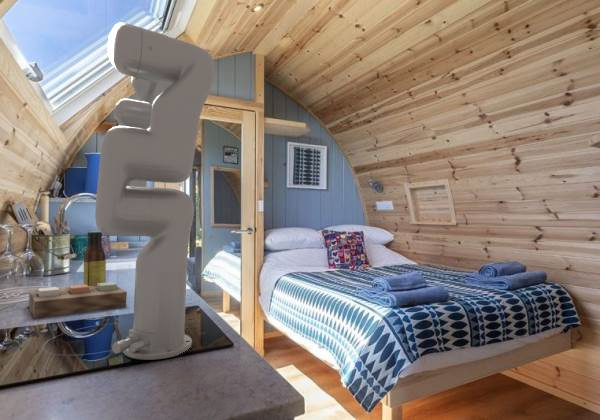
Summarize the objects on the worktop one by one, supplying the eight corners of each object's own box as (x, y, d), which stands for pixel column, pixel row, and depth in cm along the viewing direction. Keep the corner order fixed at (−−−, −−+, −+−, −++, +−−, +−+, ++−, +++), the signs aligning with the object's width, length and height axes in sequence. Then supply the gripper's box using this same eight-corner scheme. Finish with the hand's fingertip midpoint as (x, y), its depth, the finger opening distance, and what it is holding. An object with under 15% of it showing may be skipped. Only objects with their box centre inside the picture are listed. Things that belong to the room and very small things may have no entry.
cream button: (56, 297, 98) (56, 286, 98) (58, 300, 95) (59, 289, 95) (37, 299, 96) (38, 288, 96) (39, 302, 93) (40, 291, 93)
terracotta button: (85, 294, 103) (86, 284, 103) (88, 297, 100) (89, 286, 100) (68, 296, 100) (68, 285, 100) (71, 299, 97) (71, 288, 97)
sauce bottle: (109, 291, 120) (112, 231, 120) (97, 295, 113) (99, 232, 114) (91, 290, 120) (93, 230, 121) (77, 294, 114) (80, 231, 114)
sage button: (112, 292, 108) (112, 282, 108) (116, 294, 105) (116, 284, 105) (96, 293, 105) (97, 283, 105) (100, 296, 102) (100, 285, 102)
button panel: (112, 296, 112) (113, 283, 112) (126, 306, 102) (126, 291, 102) (28, 306, 98) (29, 291, 98) (34, 318, 88) (35, 301, 88)
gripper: (129, 145, 95) (126, 209, 95) (157, 156, 113) (154, 211, 112) (101, 144, 96) (98, 208, 95) (133, 155, 113) (131, 210, 112)
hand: (129, 210), depth 104 cm, fingers open, 9 cm apart
